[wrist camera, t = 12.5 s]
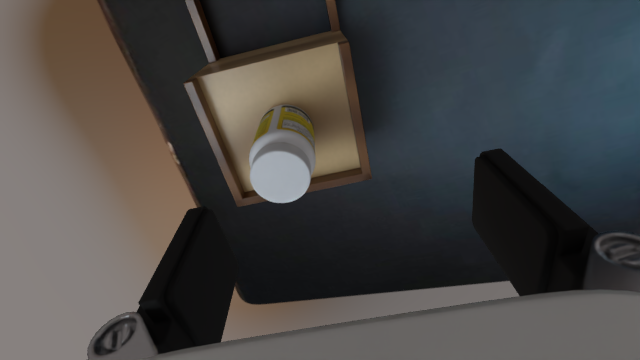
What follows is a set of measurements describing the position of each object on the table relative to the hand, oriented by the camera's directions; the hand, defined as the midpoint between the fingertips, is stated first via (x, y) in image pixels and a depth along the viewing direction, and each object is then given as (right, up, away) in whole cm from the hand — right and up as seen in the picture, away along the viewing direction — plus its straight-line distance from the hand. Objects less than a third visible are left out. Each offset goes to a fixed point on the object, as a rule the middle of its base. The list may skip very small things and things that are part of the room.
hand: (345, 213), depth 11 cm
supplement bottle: (-4, +6, +17) cm, 18 cm away
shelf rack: (-5, +15, +20) cm, 26 cm away
